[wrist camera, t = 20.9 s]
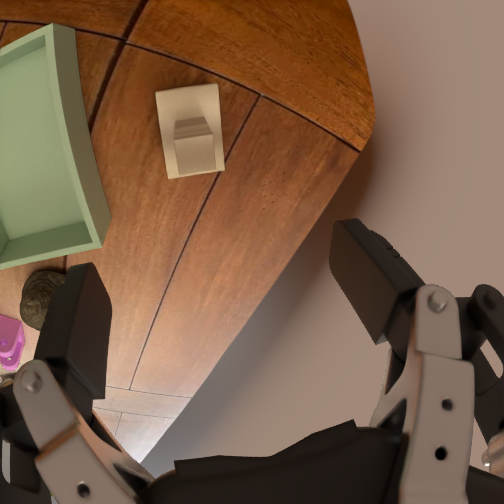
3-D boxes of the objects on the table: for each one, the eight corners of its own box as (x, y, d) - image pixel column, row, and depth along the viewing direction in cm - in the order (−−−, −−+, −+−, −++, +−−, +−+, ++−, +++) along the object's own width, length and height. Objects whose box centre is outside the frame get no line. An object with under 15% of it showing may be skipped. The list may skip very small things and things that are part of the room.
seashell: (90, 293, 28) (11, 267, 23) (76, 384, 27) (3, 362, 22) (94, 276, 38) (33, 256, 33) (80, 348, 37) (22, 331, 32)
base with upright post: (157, 89, 24) (146, 101, 16) (214, 81, 24) (231, 89, 16) (169, 168, 29) (166, 215, 21) (220, 160, 29) (239, 203, 22)
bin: (-37, 86, 15) (-67, 96, 10) (75, 28, 17) (52, 22, 12) (10, 243, 28) (-7, 271, 23) (112, 217, 30) (102, 247, 26)
